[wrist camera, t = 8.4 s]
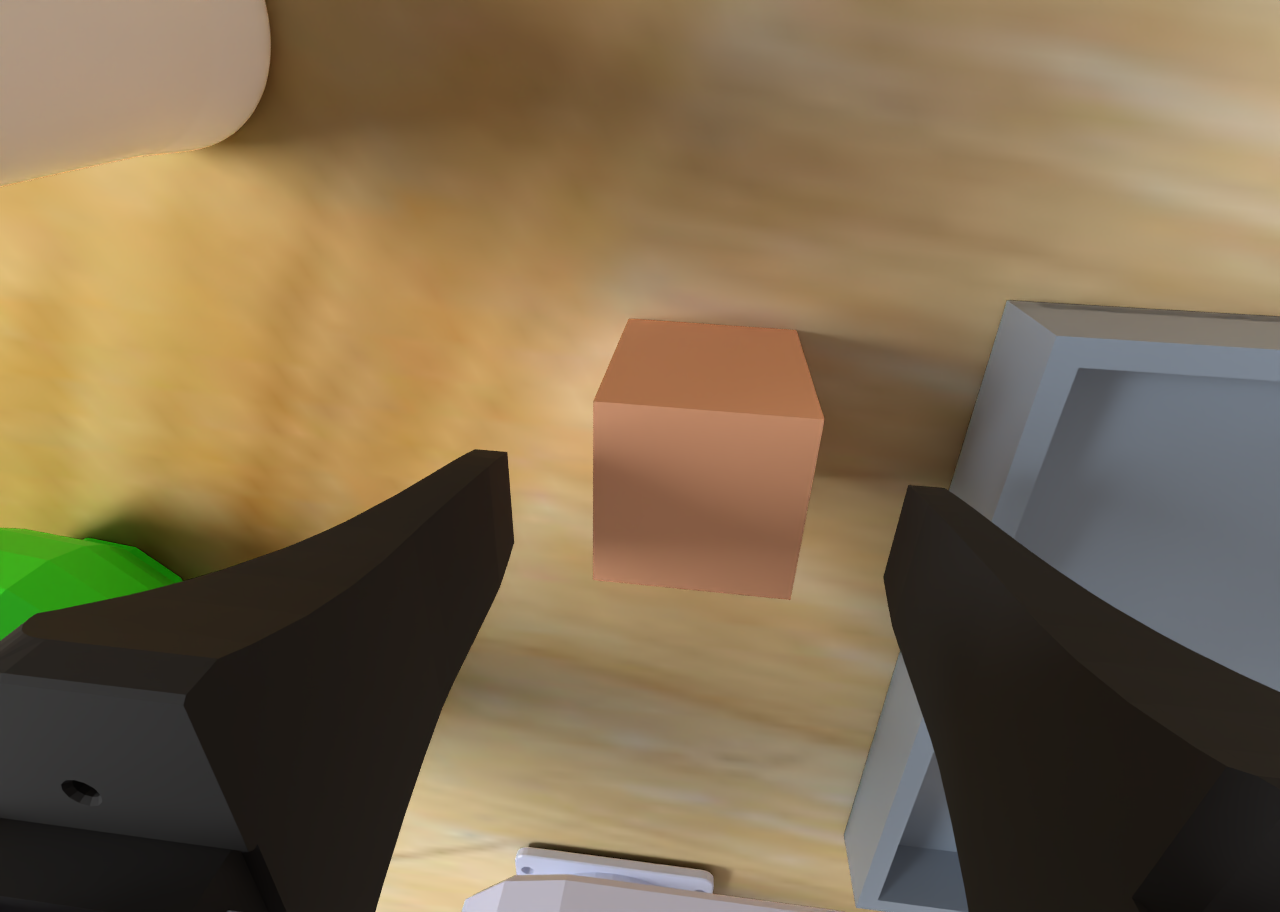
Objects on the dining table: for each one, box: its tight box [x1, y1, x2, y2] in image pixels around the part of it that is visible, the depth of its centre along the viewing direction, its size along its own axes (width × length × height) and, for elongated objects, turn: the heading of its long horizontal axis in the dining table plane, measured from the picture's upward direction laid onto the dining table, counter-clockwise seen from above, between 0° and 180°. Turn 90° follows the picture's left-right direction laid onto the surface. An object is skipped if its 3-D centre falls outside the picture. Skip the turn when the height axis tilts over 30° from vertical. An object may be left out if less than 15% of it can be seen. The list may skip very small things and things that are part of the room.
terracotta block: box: [593, 319, 825, 600], centre depth 15 cm, size 4×4×5 cm
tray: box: [844, 300, 1280, 912], centre depth 18 cm, size 20×14×2 cm
